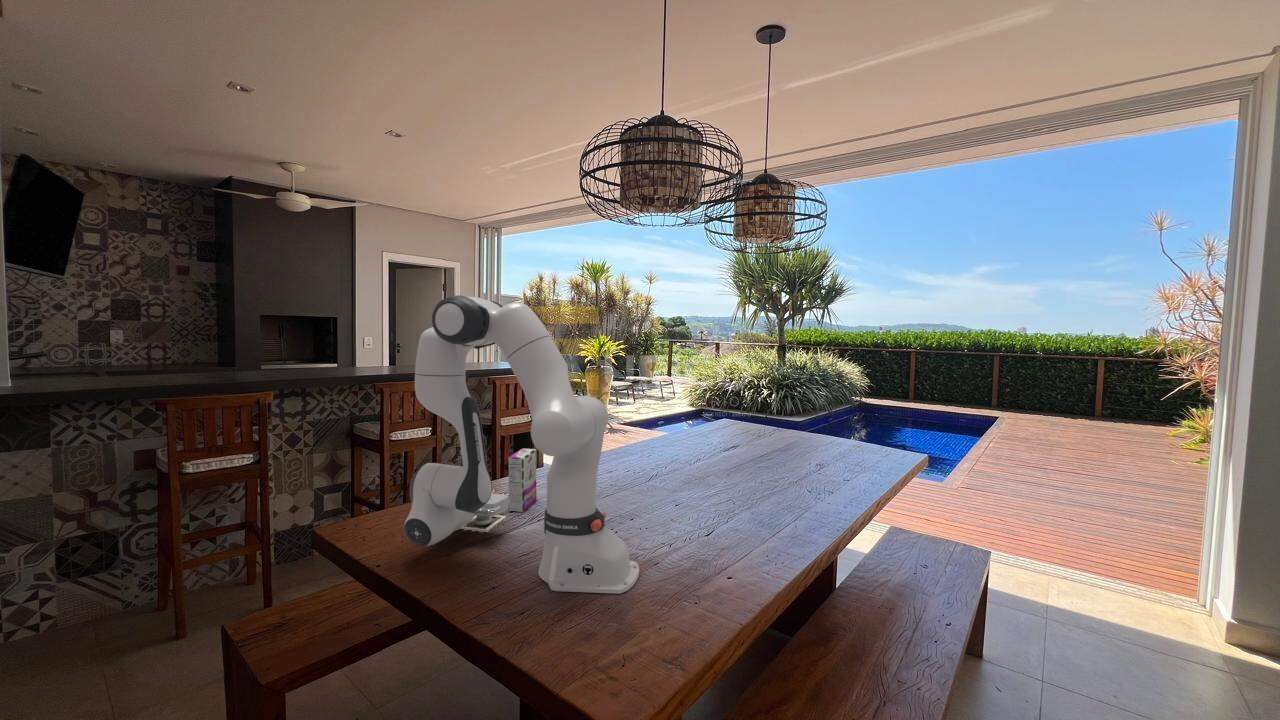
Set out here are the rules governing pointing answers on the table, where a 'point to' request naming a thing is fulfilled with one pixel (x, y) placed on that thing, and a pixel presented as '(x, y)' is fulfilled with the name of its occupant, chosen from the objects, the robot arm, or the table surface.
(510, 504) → the candy bar box
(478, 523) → the pawn
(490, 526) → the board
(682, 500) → the table surface
